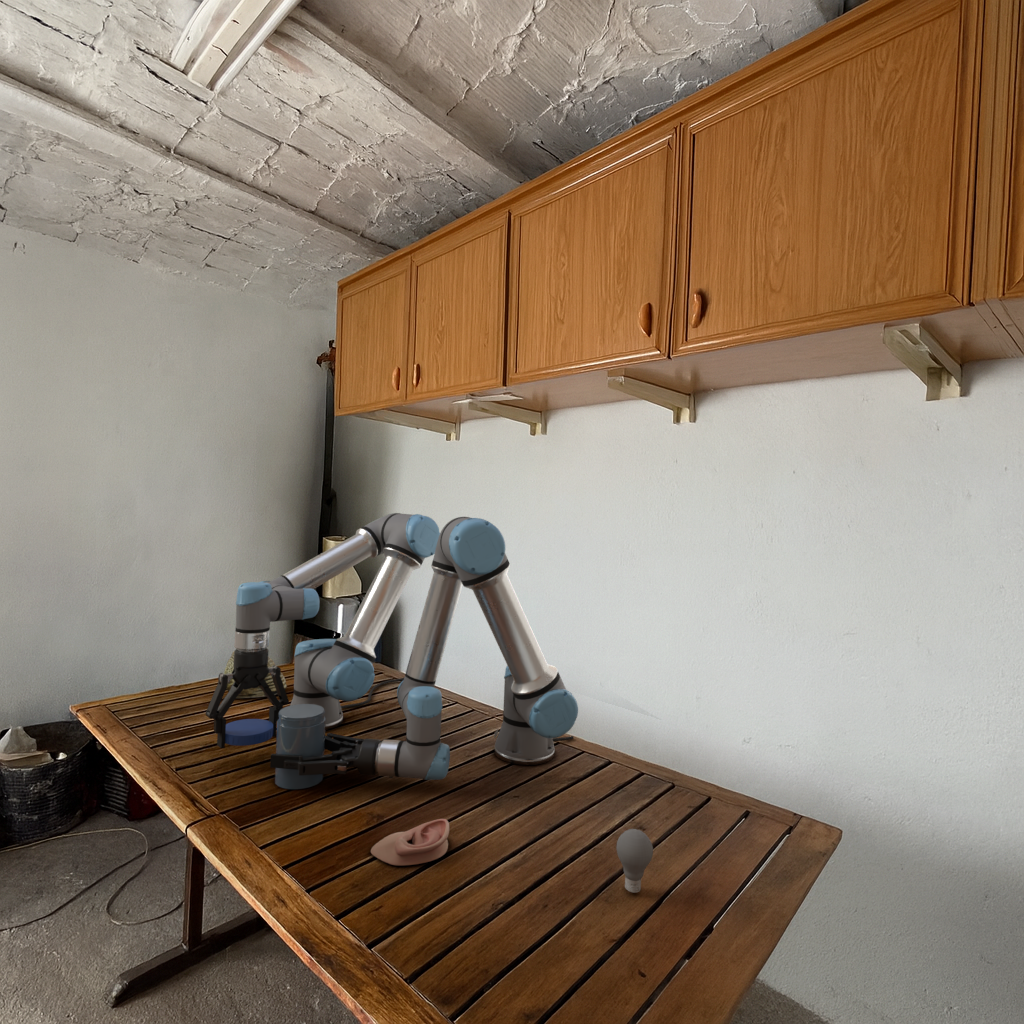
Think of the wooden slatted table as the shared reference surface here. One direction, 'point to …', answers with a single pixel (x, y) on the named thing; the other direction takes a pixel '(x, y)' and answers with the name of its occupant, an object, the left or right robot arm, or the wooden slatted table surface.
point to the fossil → (253, 691)
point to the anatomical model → (414, 844)
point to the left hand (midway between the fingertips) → (247, 740)
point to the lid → (248, 732)
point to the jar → (299, 742)
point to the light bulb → (634, 857)
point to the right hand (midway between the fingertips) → (282, 750)
